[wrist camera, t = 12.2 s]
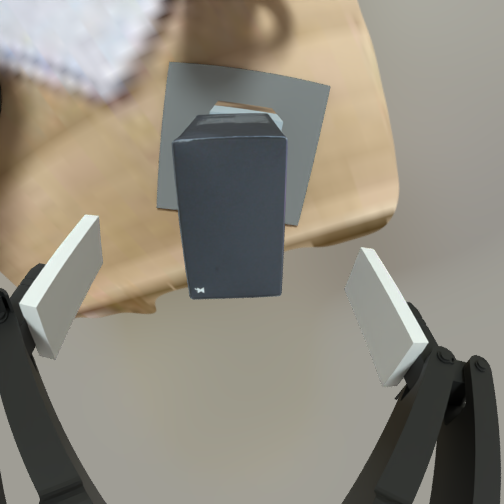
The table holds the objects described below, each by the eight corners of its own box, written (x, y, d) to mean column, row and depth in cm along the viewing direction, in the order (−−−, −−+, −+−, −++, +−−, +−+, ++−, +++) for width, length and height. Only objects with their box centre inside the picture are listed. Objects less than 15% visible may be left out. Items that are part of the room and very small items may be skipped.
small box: (272, 226, 30) (285, 301, 21) (201, 228, 30) (186, 303, 21) (273, 111, 24) (293, 136, 15) (193, 114, 24) (164, 141, 15)
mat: (157, 206, 40) (156, 207, 39) (170, 62, 30) (169, 62, 30) (297, 224, 42) (297, 225, 41) (329, 86, 32) (330, 86, 32)
